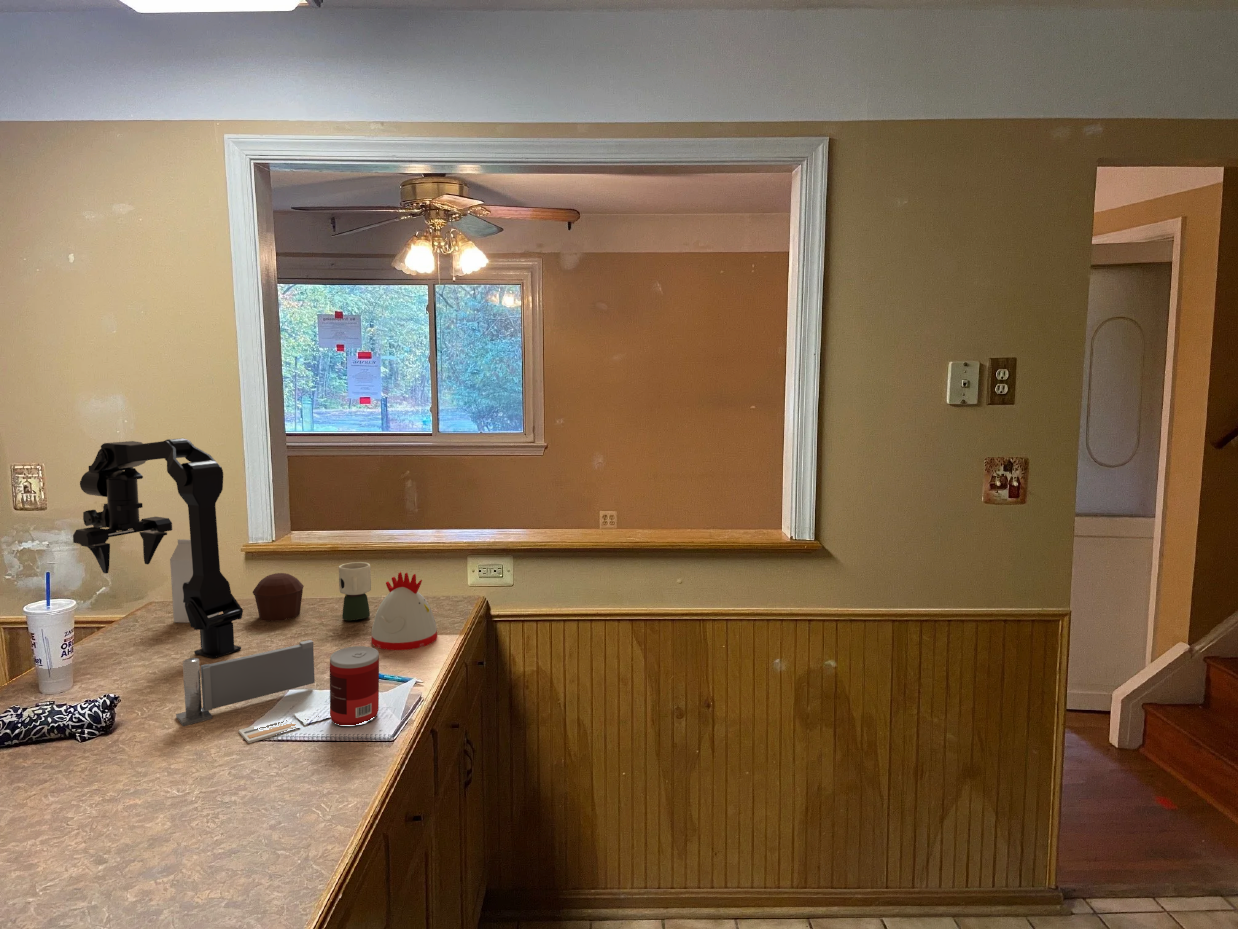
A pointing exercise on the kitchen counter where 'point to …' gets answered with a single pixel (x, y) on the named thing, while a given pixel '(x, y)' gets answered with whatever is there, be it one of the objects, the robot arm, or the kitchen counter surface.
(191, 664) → the hinge post
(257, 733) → the label plate beige
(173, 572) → the milk carton
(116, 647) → the kitchen counter surface
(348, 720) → the canned food
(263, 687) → the hinge panel
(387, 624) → the kitchen timer
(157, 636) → the kitchen counter surface
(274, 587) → the muffin
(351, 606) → the character mug
